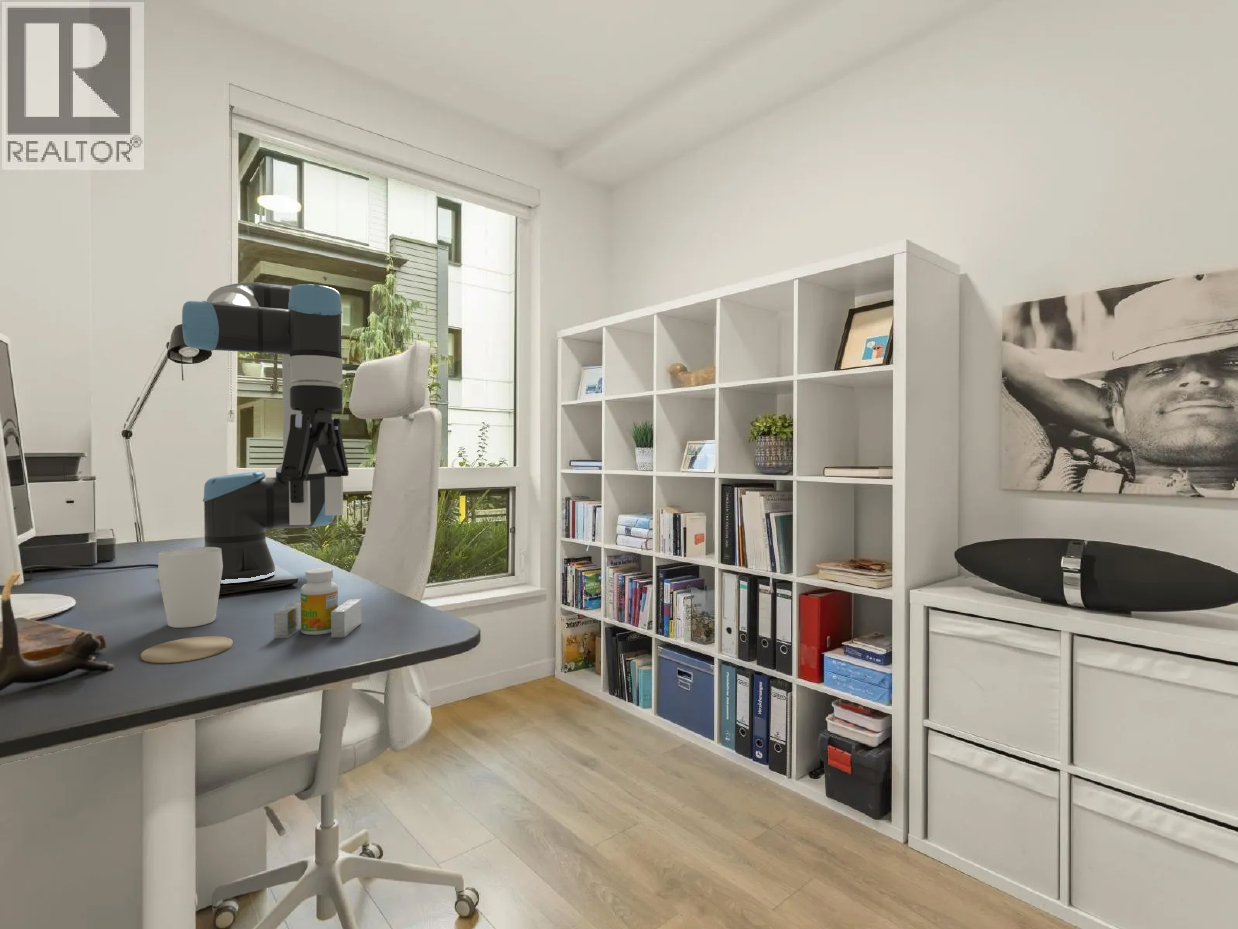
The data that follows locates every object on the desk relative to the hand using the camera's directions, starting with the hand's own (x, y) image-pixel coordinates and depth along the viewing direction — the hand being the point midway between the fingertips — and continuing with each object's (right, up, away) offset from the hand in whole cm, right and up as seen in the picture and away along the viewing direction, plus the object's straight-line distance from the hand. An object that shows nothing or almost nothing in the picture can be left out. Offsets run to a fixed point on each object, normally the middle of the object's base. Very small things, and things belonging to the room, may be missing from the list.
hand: (318, 520), depth 102 cm
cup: (-23, -18, +5) cm, 30 cm away
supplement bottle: (0, -18, +1) cm, 18 cm away
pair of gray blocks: (0, -18, +1) cm, 18 cm away
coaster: (-14, -18, -9) cm, 25 cm away
